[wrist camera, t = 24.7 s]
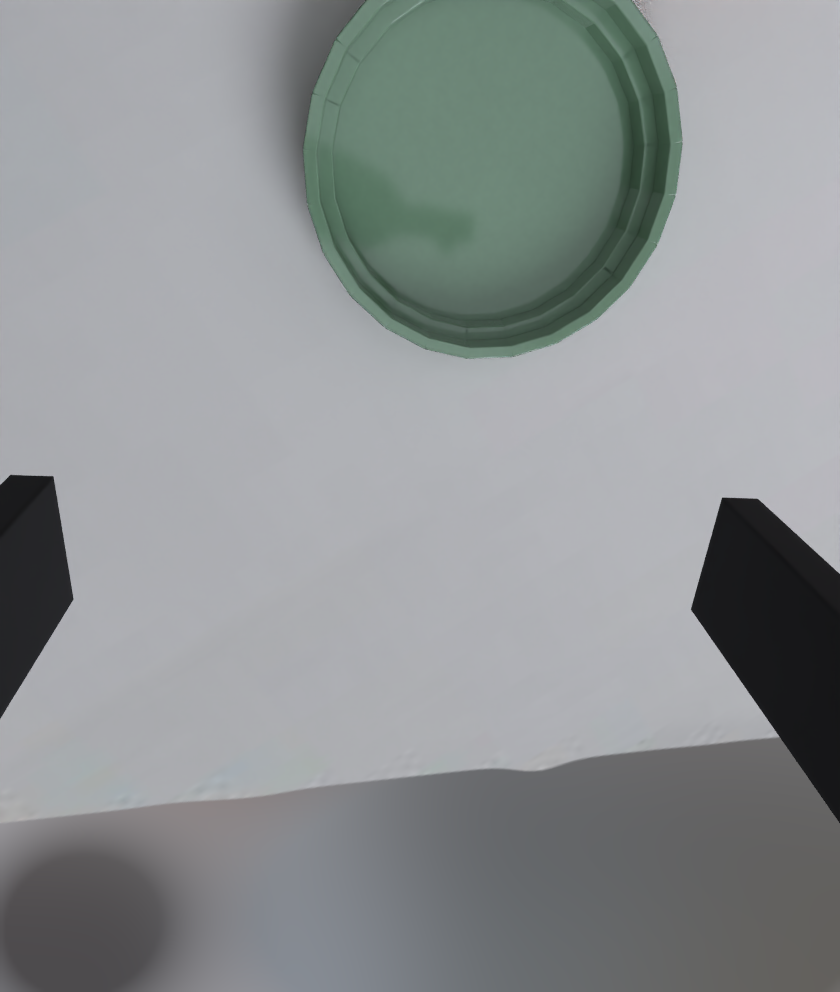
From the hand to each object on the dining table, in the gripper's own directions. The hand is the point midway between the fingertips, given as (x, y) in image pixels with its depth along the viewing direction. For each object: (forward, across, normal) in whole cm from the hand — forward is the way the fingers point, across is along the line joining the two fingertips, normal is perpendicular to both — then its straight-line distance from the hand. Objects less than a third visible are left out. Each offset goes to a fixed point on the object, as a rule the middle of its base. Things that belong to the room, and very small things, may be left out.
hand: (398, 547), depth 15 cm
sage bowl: (+27, +5, +6) cm, 28 cm away
